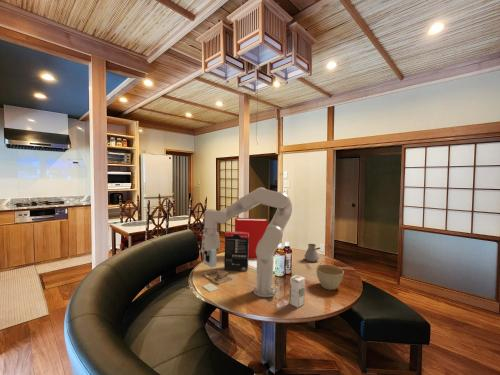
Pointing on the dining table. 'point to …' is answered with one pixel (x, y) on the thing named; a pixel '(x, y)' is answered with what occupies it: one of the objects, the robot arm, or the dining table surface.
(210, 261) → the panel
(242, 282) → the dining table surface
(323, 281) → the planter bowl
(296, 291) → the syrup box
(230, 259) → the graphics card box
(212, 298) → the dining table surface
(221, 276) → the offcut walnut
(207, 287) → the mat
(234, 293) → the dining table surface
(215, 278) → the offcut oak
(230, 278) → the rack
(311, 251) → the coffee pot
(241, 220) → the book
